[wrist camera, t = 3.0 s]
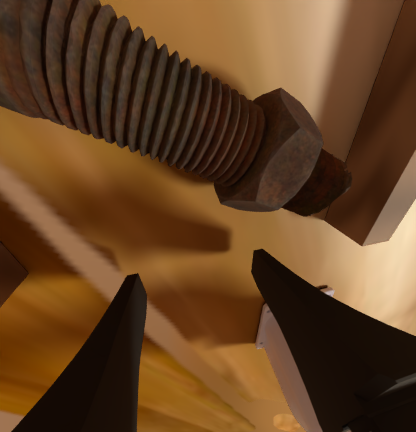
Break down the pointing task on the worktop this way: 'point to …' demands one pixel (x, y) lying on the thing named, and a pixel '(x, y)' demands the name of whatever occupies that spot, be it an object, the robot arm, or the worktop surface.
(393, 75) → the u-shaped bracket
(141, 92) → the bolt
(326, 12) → the worktop surface
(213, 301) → the worktop surface
